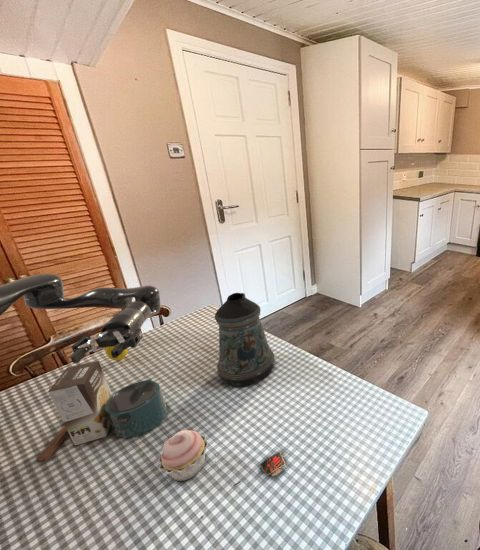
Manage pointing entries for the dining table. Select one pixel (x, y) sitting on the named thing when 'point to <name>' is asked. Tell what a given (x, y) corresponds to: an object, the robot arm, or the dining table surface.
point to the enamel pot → (136, 408)
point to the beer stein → (242, 343)
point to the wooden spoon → (53, 444)
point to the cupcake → (183, 455)
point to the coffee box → (83, 401)
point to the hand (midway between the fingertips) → (93, 357)
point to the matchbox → (273, 464)
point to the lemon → (108, 353)
